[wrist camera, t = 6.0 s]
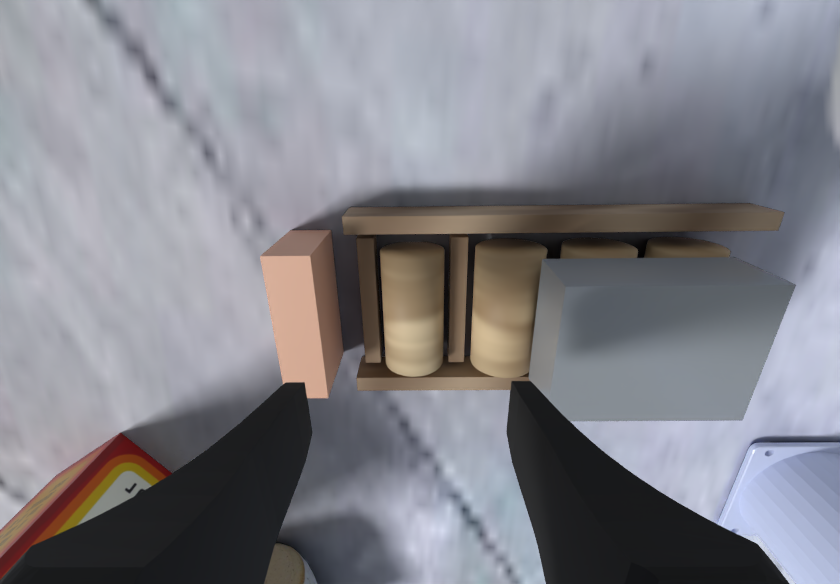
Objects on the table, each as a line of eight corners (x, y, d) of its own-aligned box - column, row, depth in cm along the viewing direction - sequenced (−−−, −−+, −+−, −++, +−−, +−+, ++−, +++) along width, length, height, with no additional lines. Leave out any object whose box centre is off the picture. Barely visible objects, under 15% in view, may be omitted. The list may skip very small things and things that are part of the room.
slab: (734, 257, 17) (795, 284, 14) (696, 376, 19) (742, 420, 16) (542, 258, 17) (565, 286, 14) (528, 377, 19) (546, 421, 16)
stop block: (331, 229, 20) (310, 255, 16) (343, 352, 22) (328, 398, 19) (290, 230, 20) (260, 256, 16) (308, 352, 22) (285, 398, 19)
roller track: (749, 203, 19) (809, 218, 16) (698, 366, 23) (739, 403, 20) (349, 207, 19) (336, 223, 16) (362, 368, 23) (354, 405, 20)
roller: (381, 241, 20) (378, 261, 17) (441, 240, 20) (447, 259, 17) (386, 345, 22) (384, 377, 20) (440, 344, 22) (445, 375, 20)
